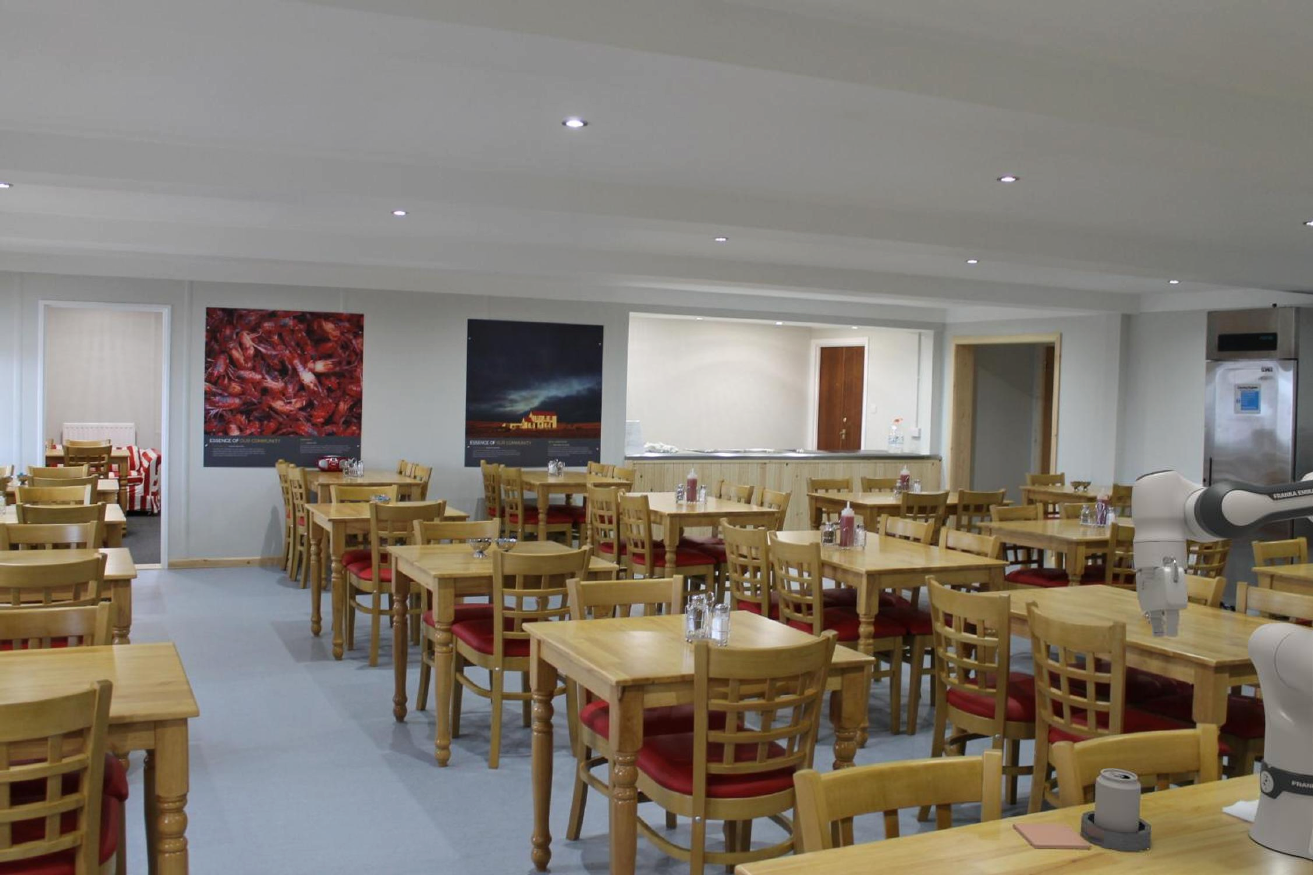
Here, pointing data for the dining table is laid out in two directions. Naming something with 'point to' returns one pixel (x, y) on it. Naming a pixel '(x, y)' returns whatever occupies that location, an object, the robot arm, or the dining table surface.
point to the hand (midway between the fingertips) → (1164, 636)
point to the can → (1117, 800)
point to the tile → (1051, 836)
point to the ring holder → (1115, 835)
